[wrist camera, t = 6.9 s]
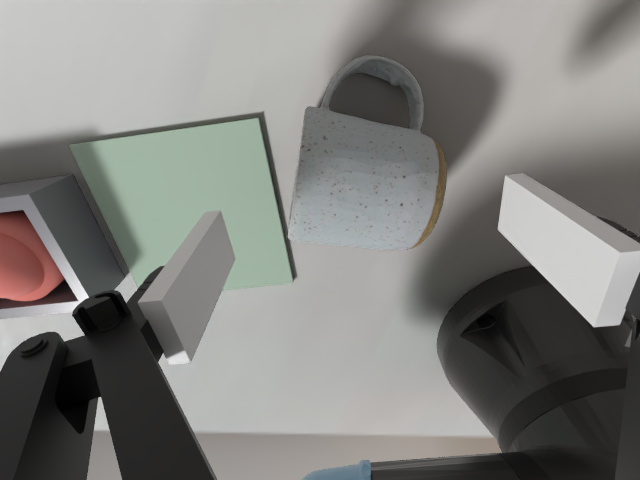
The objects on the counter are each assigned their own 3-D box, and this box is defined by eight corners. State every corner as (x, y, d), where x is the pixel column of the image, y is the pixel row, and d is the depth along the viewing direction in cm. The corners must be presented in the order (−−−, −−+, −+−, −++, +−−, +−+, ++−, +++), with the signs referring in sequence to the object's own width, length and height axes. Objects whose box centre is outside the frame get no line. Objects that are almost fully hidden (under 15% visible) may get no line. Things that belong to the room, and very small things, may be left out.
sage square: (259, 117, 22) (258, 118, 21) (293, 280, 28) (293, 283, 27) (72, 144, 23) (68, 145, 22) (145, 295, 29) (143, 298, 28)
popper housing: (72, 174, 24) (28, 194, 20) (124, 277, 28) (95, 309, 24) (-43, 189, 24) (-105, 212, 21) (25, 288, 29) (-17, 321, 25)
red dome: (56, 197, 24) (-8, 231, 19) (97, 272, 27) (50, 316, 22) (-26, 208, 24) (-108, 243, 20) (23, 280, 27) (-38, 325, 23)
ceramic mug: (398, 224, 25) (426, 282, 18) (291, 209, 25) (279, 263, 18) (443, 68, 20) (503, 69, 14) (310, 46, 20) (303, 35, 13)
